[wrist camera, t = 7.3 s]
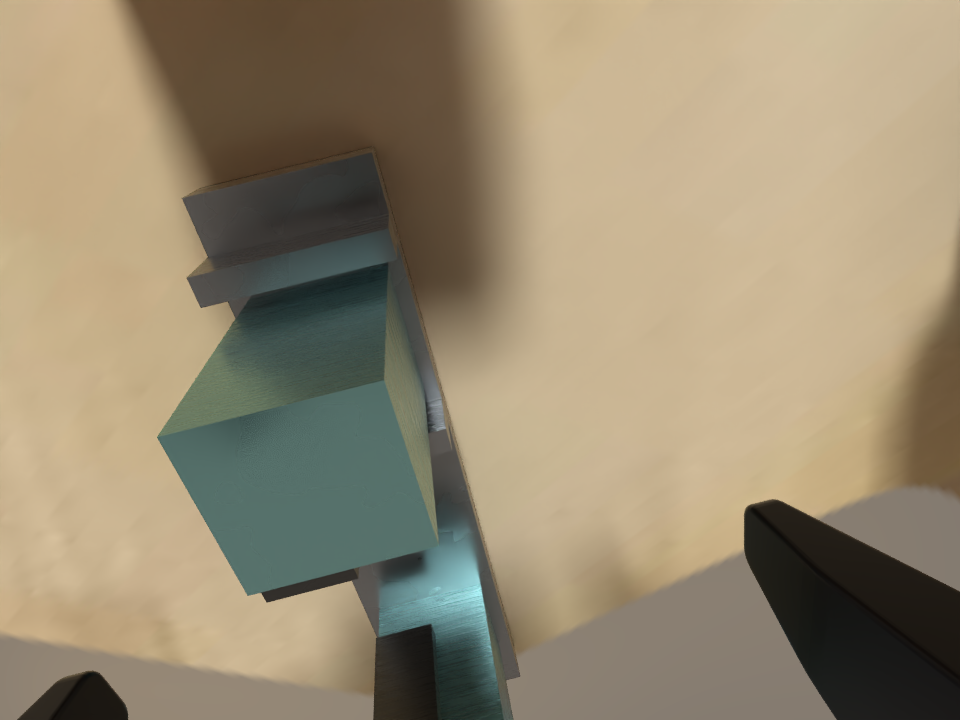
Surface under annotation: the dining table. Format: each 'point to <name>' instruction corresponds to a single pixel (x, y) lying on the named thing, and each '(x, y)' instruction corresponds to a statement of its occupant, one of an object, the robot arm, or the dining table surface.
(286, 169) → the rail
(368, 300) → the block
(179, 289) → the dining table surface
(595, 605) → the dining table surface
